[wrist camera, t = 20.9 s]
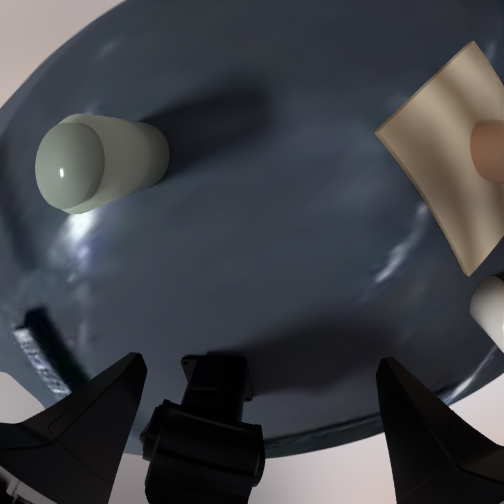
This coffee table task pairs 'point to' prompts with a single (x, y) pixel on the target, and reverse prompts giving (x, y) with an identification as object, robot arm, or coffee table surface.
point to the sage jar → (98, 161)
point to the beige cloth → (452, 152)
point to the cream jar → (490, 308)
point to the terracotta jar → (488, 149)
